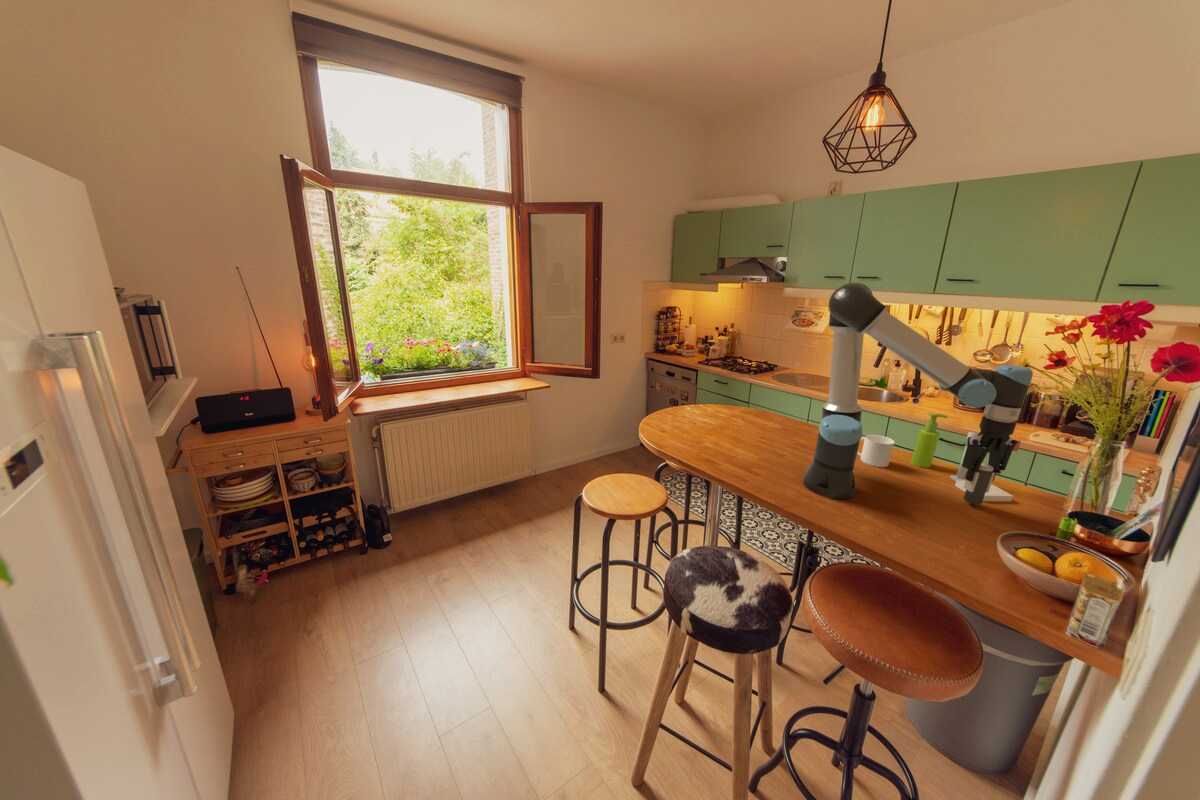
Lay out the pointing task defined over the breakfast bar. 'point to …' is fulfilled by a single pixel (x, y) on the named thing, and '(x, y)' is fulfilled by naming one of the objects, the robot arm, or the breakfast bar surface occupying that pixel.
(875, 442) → the mug
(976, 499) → the dark grey cylinder
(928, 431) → the soap dispenser
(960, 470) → the socket
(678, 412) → the breakfast bar surface
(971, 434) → the clip
